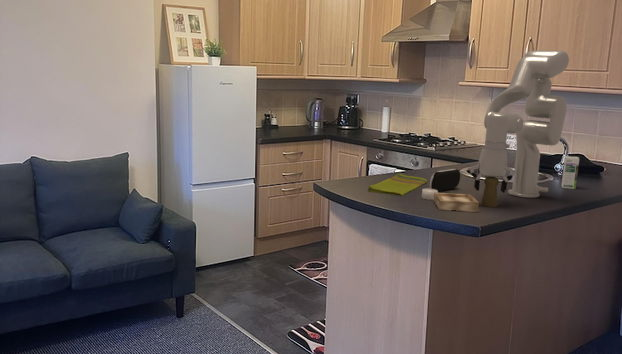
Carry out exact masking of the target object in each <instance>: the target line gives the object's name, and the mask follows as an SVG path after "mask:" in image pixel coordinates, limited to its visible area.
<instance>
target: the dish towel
mask: <svg viewBox="0 0 622 354" xmlns="http://www.w3.org/2000/svg"><path fill="white" fill-rule="evenodd" d="M427 183H428V180H427V179H426V178H423V177H419V176H413V175H412V176H411V175H405V174H402V173H396V174H394V176H391V177H389V178H387V179H385V180H382V181H380V182H378V183H375V184H370V185H368V188H367V191H368V192H371V193H378V194H384V193H386V194H385V195H390V194H393V195H392V196H397V195H400V196H399V197H403V196H404V195H406V193H407V194H408V193H410V192H412V191H414V190H415V189H418V188H419V187H421V186H423V185H425V184H427Z"/></svg>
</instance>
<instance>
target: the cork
mask: <svg viewBox="0 0 622 354" xmlns="http://www.w3.org/2000/svg"><path fill="white" fill-rule="evenodd" d="M499 181H500V180H499V177H493V176H485V178H484V185H485V187H484V190H483V195H482V198H481V199H482V200H481V203H480V205H481V206H484V207H488V208H495V207H498V185H499Z"/></svg>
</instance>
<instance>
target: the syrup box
mask: <svg viewBox="0 0 622 354" xmlns="http://www.w3.org/2000/svg"><path fill="white" fill-rule="evenodd" d="M563 161H564V162H563V169H562V179H561V188H562V189H570V190H571V189H572V190H576V188H577V179H578V172H579V164H580V157H579V156H573V155H572V156H571V155H565V156H564V160H563Z"/></svg>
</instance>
